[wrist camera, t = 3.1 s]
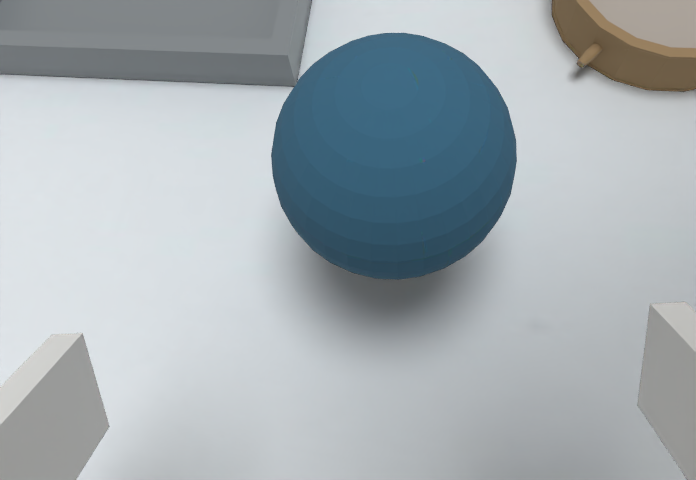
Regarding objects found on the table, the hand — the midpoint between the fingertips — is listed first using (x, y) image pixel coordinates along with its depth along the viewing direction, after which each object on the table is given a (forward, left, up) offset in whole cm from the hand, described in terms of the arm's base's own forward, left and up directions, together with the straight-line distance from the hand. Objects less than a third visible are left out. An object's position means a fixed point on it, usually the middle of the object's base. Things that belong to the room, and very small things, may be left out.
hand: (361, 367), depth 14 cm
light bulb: (+7, -4, -12) cm, 14 cm away
